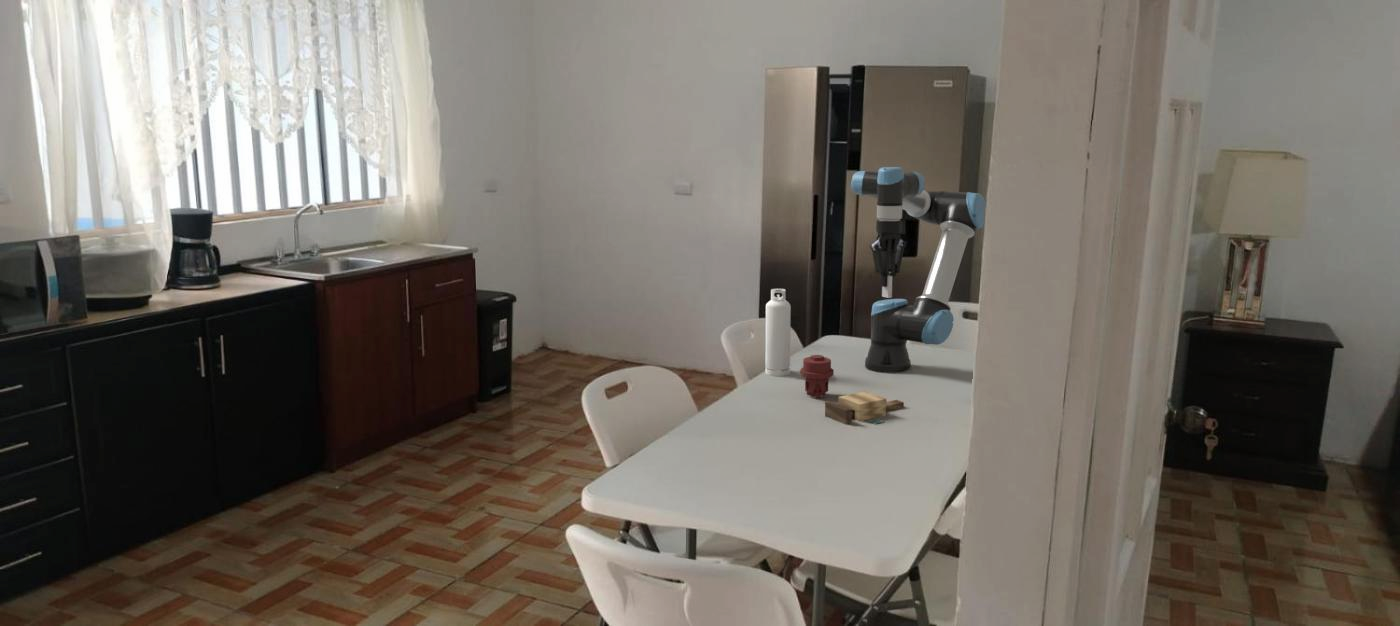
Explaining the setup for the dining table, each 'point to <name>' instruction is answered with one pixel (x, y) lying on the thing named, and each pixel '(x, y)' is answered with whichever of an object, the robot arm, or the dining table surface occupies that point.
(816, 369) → the mechanical component
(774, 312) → the bottle
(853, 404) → the light wooden box
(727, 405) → the dining table surface
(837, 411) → the wooden block assembly
